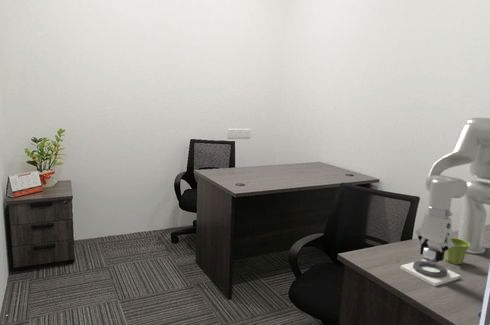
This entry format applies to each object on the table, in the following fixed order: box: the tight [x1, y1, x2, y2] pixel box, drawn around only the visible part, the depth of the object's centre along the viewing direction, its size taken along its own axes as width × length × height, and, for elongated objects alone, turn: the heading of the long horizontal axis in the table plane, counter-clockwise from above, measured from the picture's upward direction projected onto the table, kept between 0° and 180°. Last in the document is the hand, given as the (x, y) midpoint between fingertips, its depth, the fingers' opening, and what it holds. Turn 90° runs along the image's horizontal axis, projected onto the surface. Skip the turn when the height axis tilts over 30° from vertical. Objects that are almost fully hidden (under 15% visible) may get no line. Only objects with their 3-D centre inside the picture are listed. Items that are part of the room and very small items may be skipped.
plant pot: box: [445, 237, 470, 265], centre depth 152 cm, size 9×9×9 cm
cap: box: [421, 245, 440, 263], centre depth 139 cm, size 6×6×4 cm
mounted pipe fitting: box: [399, 259, 462, 287], centre depth 141 cm, size 15×15×2 cm
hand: (431, 256), depth 140 cm, fingers closed on cap, 6 cm apart
